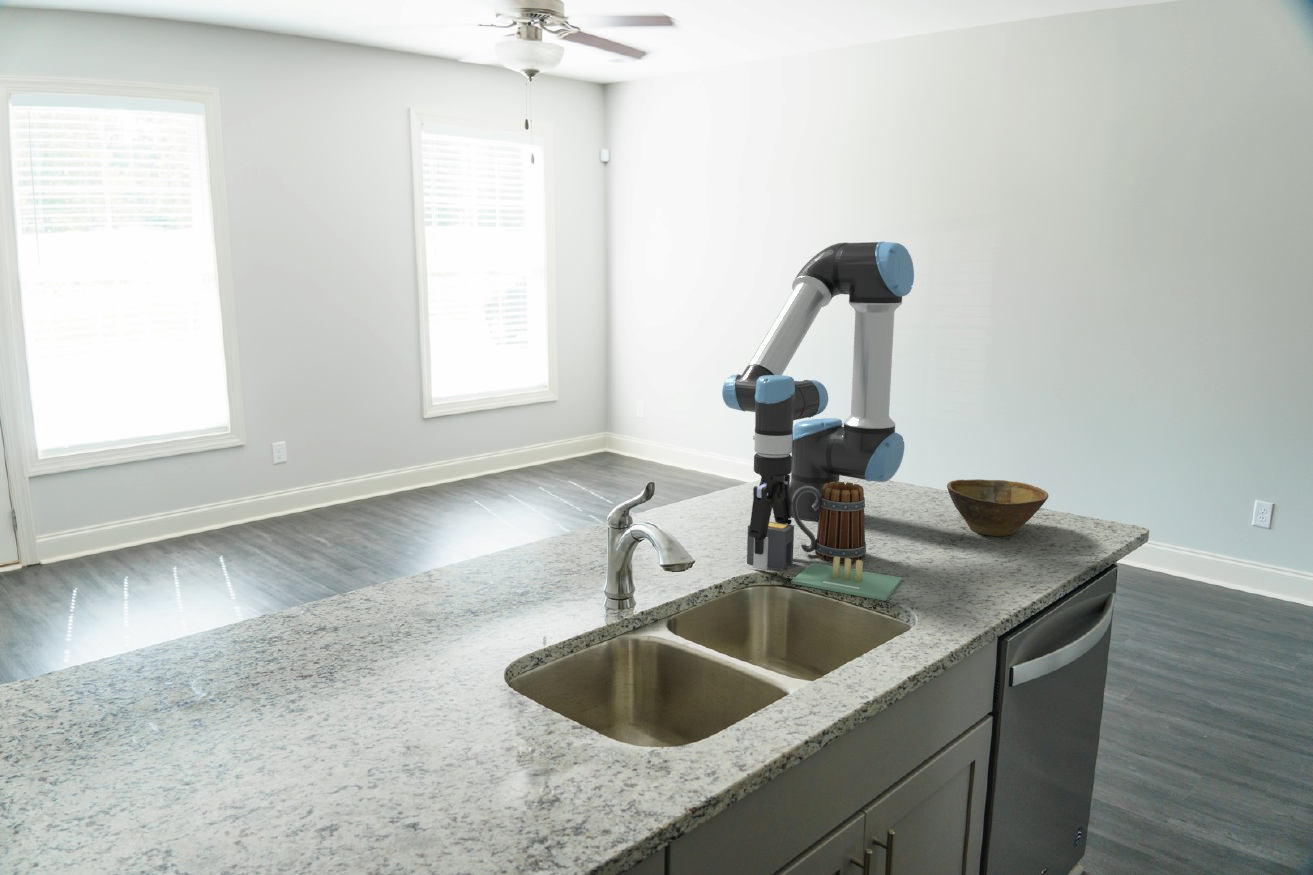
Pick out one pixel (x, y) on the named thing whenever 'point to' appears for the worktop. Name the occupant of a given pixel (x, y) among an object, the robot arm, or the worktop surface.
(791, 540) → the grey slotted block
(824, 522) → the mug
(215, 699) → the worktop surface
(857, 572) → the board
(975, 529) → the bowl
